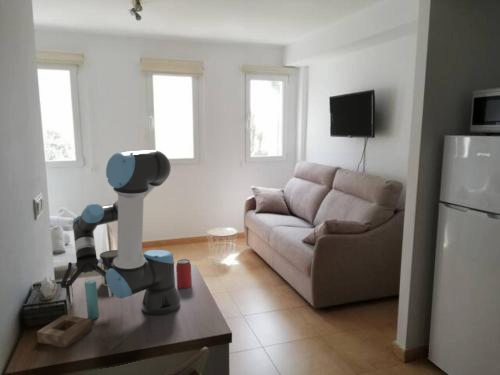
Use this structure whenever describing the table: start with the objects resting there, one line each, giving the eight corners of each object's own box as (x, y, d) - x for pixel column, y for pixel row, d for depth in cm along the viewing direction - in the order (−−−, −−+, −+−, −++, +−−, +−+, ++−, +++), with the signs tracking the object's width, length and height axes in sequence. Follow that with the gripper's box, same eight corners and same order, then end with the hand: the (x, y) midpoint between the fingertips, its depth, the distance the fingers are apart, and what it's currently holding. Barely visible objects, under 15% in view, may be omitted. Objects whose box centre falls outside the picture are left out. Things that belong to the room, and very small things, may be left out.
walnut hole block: (91, 329, 135) (90, 319, 134) (66, 348, 124) (65, 337, 123) (65, 324, 138) (64, 314, 138) (38, 342, 127) (36, 331, 127)
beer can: (174, 286, 171) (173, 261, 169) (186, 281, 175) (185, 257, 173) (182, 290, 166) (181, 265, 164) (194, 286, 170) (193, 261, 169)
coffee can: (129, 280, 178) (127, 251, 176) (111, 288, 170) (109, 258, 167) (115, 275, 184) (113, 248, 181) (97, 283, 175) (94, 254, 173)
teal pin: (101, 314, 145) (98, 281, 143) (94, 319, 142) (91, 285, 139) (92, 313, 147) (89, 279, 144) (85, 318, 143) (82, 284, 141)
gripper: (117, 249, 161) (124, 296, 150) (52, 259, 150) (55, 310, 139) (117, 241, 155) (126, 288, 145) (50, 251, 144) (54, 303, 134)
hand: (91, 299), depth 142 cm, fingers open, 13 cm apart
